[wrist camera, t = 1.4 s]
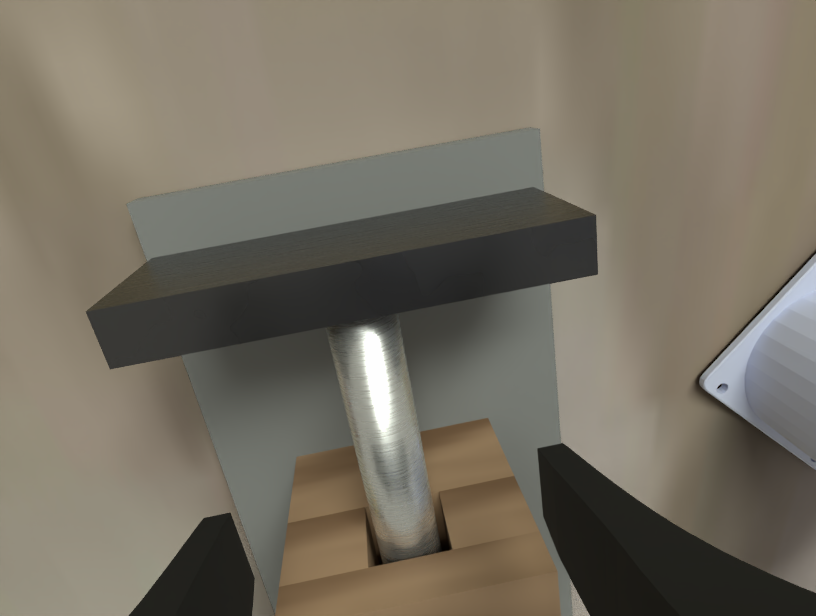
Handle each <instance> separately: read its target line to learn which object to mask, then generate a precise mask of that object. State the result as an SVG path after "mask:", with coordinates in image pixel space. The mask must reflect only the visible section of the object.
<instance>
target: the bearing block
mask: <svg viewBox="0 0 816 616" xmlns="http://www.w3.org/2000/svg"><path fill="white" fill-rule="evenodd" d="M420 436H421V441H422V447H423V452H424V457H425V463H426V468H427V474H428V479H429V484H430V490H431V495H432V501H433V506H434V512H435V517H436V522H437V528H438V533H439V539H440V544H441V549H442V552H439V553H435V554H430V555H425V556H421V557H416V558H411V559H407V560H402V561H398V562H393V563H388V564H384V565H383V563H382V559H381V555H380V550H379V546H378V542H377V538H376V534H375V530H374V526H373V522H372V518H371V513H370V509H369V505H368V501H367V497H366V493H365V489H364V485H363V480H362V476H361V472H360V468H359V464H358V460H357V456H356V452H355V448H354V445H352V446H347V447H343V448H338V449H333V450H328V451H323V452H318V453H313V454H308V455H303V456H298V457H297V458H296V465H295V472H294V480H293V487H292V494H291V502H290V509H289V517H288V524H287V531H286V539H285V546H284V554H283V561H282V568H281V576H280V583H279V590H278V598H277V605H276V613H275V616H561V609H560V597H559V584H558V571H557V569H556V567H555V565H554V562H553V560H552V558H551V556H550V554H549V551H548V549H547V547H546V545H545V542H544V540H543V538H542V536H541V534H540V531H539V529H538V527H537V525H536V523H535V520H534V518H533V516H532V514H531V512H530V509H529V507H528V505H527V503H526V501H525V498H524V496H523V494H522V492H521V490H520V487H519V485H518V483H517V481H516V478H515V476H514V474H513V472H512V470H511V467H510V465H509V463H508V461H507V459H506V456H505V454H504V452H503V450H502V448H501V445H500V443H499V441H498V439H497V437H496V434H495V432H494V430H493V428H492V426H491V423H490V421H489V419H488V418H484V419H479V420H475V421H470V422H465V423H460V424H455V425H450V426H445V427H440V428H435V429H431V430H426V431H421V432H420Z"/></svg>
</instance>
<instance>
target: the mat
mask: <svg viewBox="0 0 816 616" xmlns="http://www.w3.org/2000/svg"><path fill="white" fill-rule="evenodd" d="M530 187H535V188H537V189H540V190H542V191H544V184H543V170H542V155H541V140H540V129H538V128H531V127H530V128H525V129H519V130H514V131H508V132H502V133H497V134H491V135H486V136H480V137H475V138H469V139H464V140H458V141H453V142H447V143H442V144H436V145H431V146H425V147H420V148H414V149H409V150H403V151H398V152H392V153H387V154H381V155H376V156H370V157H365V158H359V159H354V160H348V161H343V162H337V163H332V164H326V165H321V166H315V167H309V168H304V169H298V170H293V171H287V172H282V173H276V174H271V175H265V176H260V177H254V178H249V179H243V180H238V181H232V182H227V183H221V184H216V185H210V186H205V187H199V188H194V189H188V190H183V191H177V192H172V193H166V194H161V195H155V196H150V197H144V198H139V199H136V200H133V201H131V202H129V203H127V207H128V210H129V213H130V215H131V218H132V221H133V224H134V227H135V229H136V232H137V235H138V238H139V240H140V243H141V246H142V249H143V251H144V254H145V257H146V260H147V262H148V261H149V260H150V259H151V258H155V257H160V256H165V255H171V254H176V253H181V252H187V251H192V250H198V249H203V248H208V247H214V246H219V245H224V244H230V243H235V242H240V241H246V240H251V239H257V238H262V237H267V236H273V235H278V234H283V233H289V232H294V231H300V230H305V229H310V228H316V227H321V226H326V225H332V224H337V223H343V222H348V221H353V220H359V219H364V218H369V217H375V216H380V215H385V214H391V213H396V212H402V211H407V210H412V209H418V208H423V207H428V206H434V205H439V204H445V203H450V202H455V201H461V200H466V199H471V198H477V197H482V196H487V195H493V194H498V193H504V192H509V191H514V190H520V189H525V188H530ZM398 317H399V322H400V328H401V333H402V339H403V344H404V349H405V355H406V360H407V366H408V371H409V376H410V382H411V387H412V393H413V398H414V403H415V409H416V414H417V420H418V425H419V430H420V432H421V431H426V430H431V429H435V428H440V427H445V426H450V425H455V424H460V423H465V422H470V421H475V420H479V419H484V418H488V419H489V421H490V423H491V426H492V428H493V430H494V432H495V434H496V437H497V439H498V441H499V443H500V445H501V448H502V450H503V452H504V454H505V456H506V459H507V461H508V463H509V465H510V467H511V470H512V472H513V474H514V476H515V478H516V481H517V483H518V485H519V487H520V490H521V492H522V494H523V496H524V498H525V501H526V503H527V505H528V507H529V509H530V512H531V514H532V516H533V518H534V520H535V523H536V525H537V527H538V529H539V531H540V534H541V536H542V538H543V540H544V542H545V545H546V547H547V549H548V551H549V554H550V556H551V558H552V560H553V562H554V565H555V567H556V569H557V571H558V584H559V597H560V609H561V616H573V615H572V600H571V585H570V577H569V575H568V573H567V571H566V569H565V567H564V565H563V563H562V562H561V560H560V558H559V555H558V553H557V550H556V548H555V545H554V543H553V540H552V538H551V535H550V533H549V530H548V527H547V525H546V522H545V520H544V517H543V509H542V497H541V486H540V474H539V463H538V452H537V448H542V447H546V446H551V445H556V444H561V437H560V422H559V407H558V392H557V377H556V363H555V348H554V333H553V318H552V303H551V288H550V284H546V285H541V286H536V287H530V288H525V289H520V290H515V291H510V292H505V293H500V294H494V295H489V296H484V297H479V298H474V299H469V300H464V301H458V302H453V303H448V304H443V305H438V306H433V307H428V308H422V309H417V310H412V311H407V312H402V313H398ZM181 356H182V359H183V362H184V365H185V367H186V370H187V373H188V376H189V379H190V381H191V384H192V387H193V390H194V392H195V395H196V398H197V401H198V403H199V406H200V409H201V412H202V414H203V417H204V420H205V423H206V426H207V428H208V431H209V434H210V437H211V439H212V442H213V445H214V448H215V450H216V453H217V456H218V459H219V461H220V464H221V467H222V470H223V473H224V475H225V478H226V481H227V484H228V486H229V489H230V492H231V495H232V497H233V500H234V503H235V506H236V508H237V511H238V514H239V517H240V520H241V522H242V525H243V528H244V531H245V533H246V536H247V539H248V542H249V544H250V547H251V550H252V553H253V555H254V558H255V561H256V564H257V567H258V569H259V572H260V575H261V578H262V580H263V583H264V586H265V589H266V591H267V594H268V597H269V600H270V602H271V605H272V608H273V611H274V614H275V613H276V605H277V598H278V590H279V583H280V576H281V568H282V561H283V554H284V546H285V539H286V531H287V524H288V517H289V509H290V502H291V494H292V487H293V480H294V472H295V465H296V458H297V457H298V456H303V455H308V454H313V453H318V452H323V451H328V450H333V449H338V448H343V447H347V446H352V445H354V443H353V439H352V435H351V431H350V427H349V423H348V419H347V415H346V410H345V406H344V402H343V398H342V394H341V390H340V386H339V382H338V378H337V373H336V369H335V365H334V361H333V357H332V353H331V349H330V345H329V340H328V336H327V332H326V328H320V329H314V330H309V331H304V332H299V333H294V334H289V335H284V336H278V337H273V338H268V339H263V340H258V341H253V342H248V343H242V344H237V345H232V346H227V347H222V348H217V349H212V350H206V351H201V352H196V353H191V354H186V355H181Z"/></svg>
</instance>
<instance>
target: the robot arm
mask: <svg viewBox="0 0 816 616" xmlns="http://www.w3.org/2000/svg"><path fill="white" fill-rule="evenodd" d="M699 383H700V386H701V387H702V388H703V389H704V390H705V391H707V392H708V393H709V394H711V395H712V396H714V397H715V398H716V399H718V400H719V401H721V402H722V403H723V404H725V405H726V406H727V407H729V408H730V409H732V410H733V411H734V412H736V413H737V414H739V415H740V416H741V417H743V418H744V419H745V420H747V421H748V422H750V423H751V424H752V425H754V426H755V427H756V428H758V429H759V430H761V431H762V432H763V433H765V434H766V435H768V436H769V437H770V438H772V439H773V440H774V441H776V442H777V443H779V444H780V445H781V446H783V447H784V448H785V449H787V450H788V451H790V452H791V453H792V454H794V455H795V456H797V457H798V458H799V459H801V460H802V461H803V462H805V463H806V464H808V465H809V466H810V467H812V468H813V469H815V470H816V254H815V255H814V256H813V257H812V258H811V259H810V260H809V261H808V263H807V264H806V265H805V266H804V267H803V268H802V269H801V270H800V271H799V272H798V273H797V274H796V275H795V276H794V277H793V278H792V280H791V281H790V282H789V283H788V284H787V285H786V286H785V287H784V288H783V289H782V290H781V291H780V292H779V293H778V294H777V295H776V297H775V298H774V299H773V300H772V301H771V302H770V303H769V304H768V305H767V306H766V307H765V308H764V309H763V310H762V311H761V313H760V314H759V315H758V316H757V317H756V318H755V319H754V320H753V321H752V322H751V323H750V324H749V325H748V326H747V327H746V328H745V330H744V331H743V332H742V333H741V334H740V335H739V336H738V337H737V338H736V339H735V340H734V341H733V342H732V343H731V344H730V345H729V347H728V348H727V349H726V350H725V351H724V352H723V353H722V354H721V355H720V356H719V357H718V358H717V359H716V360H715V361H714V362H713V364H712V365H711V366H710V367H709V368H708V369H707V370H706V371H705V372H704V373H703V374H702V376H701V377H700V380H699ZM720 384H722V385H721V387H720V388H718V389H717V387H718V386H719V385H720ZM537 452H538V463H539V474H540V486H541V497H542V509H543V517H544V520H545V522H546V525H547V527H548V530H549V533H550V535H551V538H552V540H553V543H554V545H555V548H556V550H557V553H558V555H559V558H560V560H561V562H562V563H563V565H564V567H565V569H566V571H567V573H568V575H569V577H570V579H571V581H572V583H573V584H574V586H575V588H576V590H577V592H578V594H579V596H580V598H581V599H582V601H583V603H584V605H585V607H586V609H587V611H588V613H589V614H590V616H816V593H814V592H812V591H809V590H807V589H804V588H801V587H799V586H797V585H794V584H792V583H790V582H787V581H785V580H783V579H780V578H778V577H776V576H773V575H771V574H769V573H767V572H765V571H763V570H760V569H758V568H756V567H754V566H752V565H750V564H748V563H745V562H743V561H741V560H739V559H737V558H735V557H733V556H731V555H729V554H727V553H725V552H723V551H721V550H719V549H717V548H716V547H714V546H712V545H710V544H708V543H706V542H705V541H703V540H701V539H699V538H697V537H696V536H694V535H692V534H690V533H688V532H687V531H685V530H683V529H682V528H680V527H678V526H676V525H675V524H673V523H672V522H670V521H668V520H667V519H665V518H664V517H662V516H661V515H659V514H658V513H656V512H655V511H653V510H651V509H650V508H649V507H647V506H646V505H644V504H643V503H641V502H640V501H638V500H637V499H636V498H634V497H633V496H631V495H630V494H629V493H627V492H626V491H624V490H623V489H622V488H620V487H619V486H617V485H616V484H615V483H613V482H612V481H611V480H609V479H608V478H607V477H605V476H604V475H603V474H602V473H600V472H599V471H598V470H596V469H595V468H594V467H593V466H591V465H590V464H589V463H587V462H586V461H585V460H584V459H582V458H581V457H580V456H579V455H577V454H576V453H575V452H574V451H572V450H571V449H570V448H569V447H567V446H566V445H565V444H563V443H561V444H556V445H551V446H546V447H542V448H537ZM254 579H255V578H254V575H253V573H252V570H251V567H250V565H249V562H248V559H247V557H246V554H245V551H244V548H243V546H242V543H241V540H240V538H239V535H238V532H237V529H236V527H235V524H234V521H233V519H232V516H231V513H226V514H222V515H217V516H212V517H207V518H204V519H203V520H202V521H201V522H200V524H199V525H198V526H197V528H196V529H195V530H194V532H193V533H192V534H191V536H190V537H189V538H188V540H187V541H186V542H185V544H184V545H183V546H182V548H181V549H180V550H179V552H178V553H177V555H176V556H175V557H174V559H173V560H172V561H171V563H170V564H169V565H168V567H167V568H166V569H165V571H164V572H163V573H162V575H161V576H160V577H159V578H158V580H157V581H156V582H155V584H154V585H153V586H152V588H151V589H150V590H149V591H148V593H147V594H146V595H145V597H144V598H143V599H142V600H141V602H140V603H139V604H138V605H137V606H136V608H135V609H134V610H133V611H132V612H131V614H130V615H129V616H252V607H253V594H254Z"/></svg>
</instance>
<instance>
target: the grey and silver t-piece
mask: <svg viewBox="0 0 816 616" xmlns="http://www.w3.org/2000/svg"><path fill="white" fill-rule="evenodd" d="M597 274H598V263H597V232H596V215H595V214H593V213H590V212H588V211H586V210H584V209H582V208H579V207H577V206H575V205H573V204H571V203H568V202H566V201H564V200H562V199H559V198H557V197H555V196H553V195H551V194H548V193H546V192H544V191H542V190H540V189H537V188H535V187H530V188H525V189H520V190H514V191H509V192H504V193H498V194H493V195H487V196H482V197H477V198H471V199H466V200H461V201H455V202H450V203H445V204H439V205H434V206H428V207H423V208H418V209H412V210H407V211H402V212H396V213H391V214H385V215H380V216H375V217H369V218H364V219H359V220H353V221H348V222H343V223H337V224H332V225H326V226H321V227H316V228H310V229H305V230H300V231H294V232H289V233H283V234H278V235H273V236H267V237H262V238H257V239H251V240H246V241H240V242H235V243H230V244H224V245H219V246H214V247H208V248H203V249H198V250H192V251H187V252H181V253H176V254H171V255H165V256H160V257H155V258H151V259H150V260H149V261H148V262H146V263H145V264H144V265H143V266H141V267H140V268H139V269H138V270H137V271H135V272H134V273H133V274H132V275H130V276H129V277H128V278H127V279H125V280H124V281H123V282H122V283H120V284H119V285H118V286H117V287H116V288H114V289H113V290H112V291H111V292H109V293H108V294H107V295H106V296H104V297H103V298H102V299H101V300H100V301H98V302H97V303H96V304H95V305H93V306H92V307H91V308H90V309H88V310H87V311H86V313H87V316H88V318H89V320H90V323H91V325H92V328H93V330H94V332H95V335H96V337H97V339H98V342H99V344H100V347H101V349H102V351H103V354H104V356H105V358H106V361H107V363H108V365H109V368H110V369H114V368H119V367H124V366H129V365H134V364H140V363H145V362H150V361H155V360H160V359H165V358H170V357H176V356H181V355H186V354H191V353H196V352H201V351H206V350H212V349H217V348H222V347H227V346H232V345H237V344H242V343H248V342H253V341H258V340H263V339H268V338H273V337H278V336H284V335H289V334H294V333H299V332H304V331H309V330H314V329H320V328H326V332H327V336H328V340H329V345H330V349H331V353H332V357H333V361H334V365H335V369H336V373H337V378H338V382H339V386H340V390H341V394H342V398H343V402H344V406H345V410H346V415H347V419H348V423H349V427H350V431H351V435H352V439H353V443H354V448H355V452H356V456H357V460H358V464H359V468H360V472H361V476H362V480H363V485H364V489H365V493H366V497H367V501H368V505H369V509H370V513H371V518H372V522H373V526H374V530H375V534H376V538H377V542H378V546H379V550H380V555H381V559H382V563H383V565H384V564H388V563H393V562H398V561H402V560H407V559H411V558H416V557H421V556H425V555H430V554H435V553H439V552H442V549H441V544H440V539H439V533H438V528H437V522H436V517H435V512H434V506H433V501H432V495H431V490H430V484H429V479H428V474H427V468H426V463H425V457H424V452H423V447H422V441H421V436H420V430H419V425H418V420H417V414H416V409H415V403H414V398H413V393H412V387H411V382H410V376H409V371H408V366H407V360H406V355H405V349H404V344H403V339H402V333H401V328H400V322H399V317H398V313H402V312H407V311H412V310H417V309H422V308H428V307H433V306H438V305H443V304H448V303H453V302H458V301H464V300H469V299H474V298H479V297H484V296H489V295H494V294H500V293H505V292H510V291H515V290H520V289H525V288H530V287H536V286H541V285H546V284H551V283H556V282H561V281H566V280H572V279H577V278H582V277H587V276H592V275H597Z"/></svg>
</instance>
